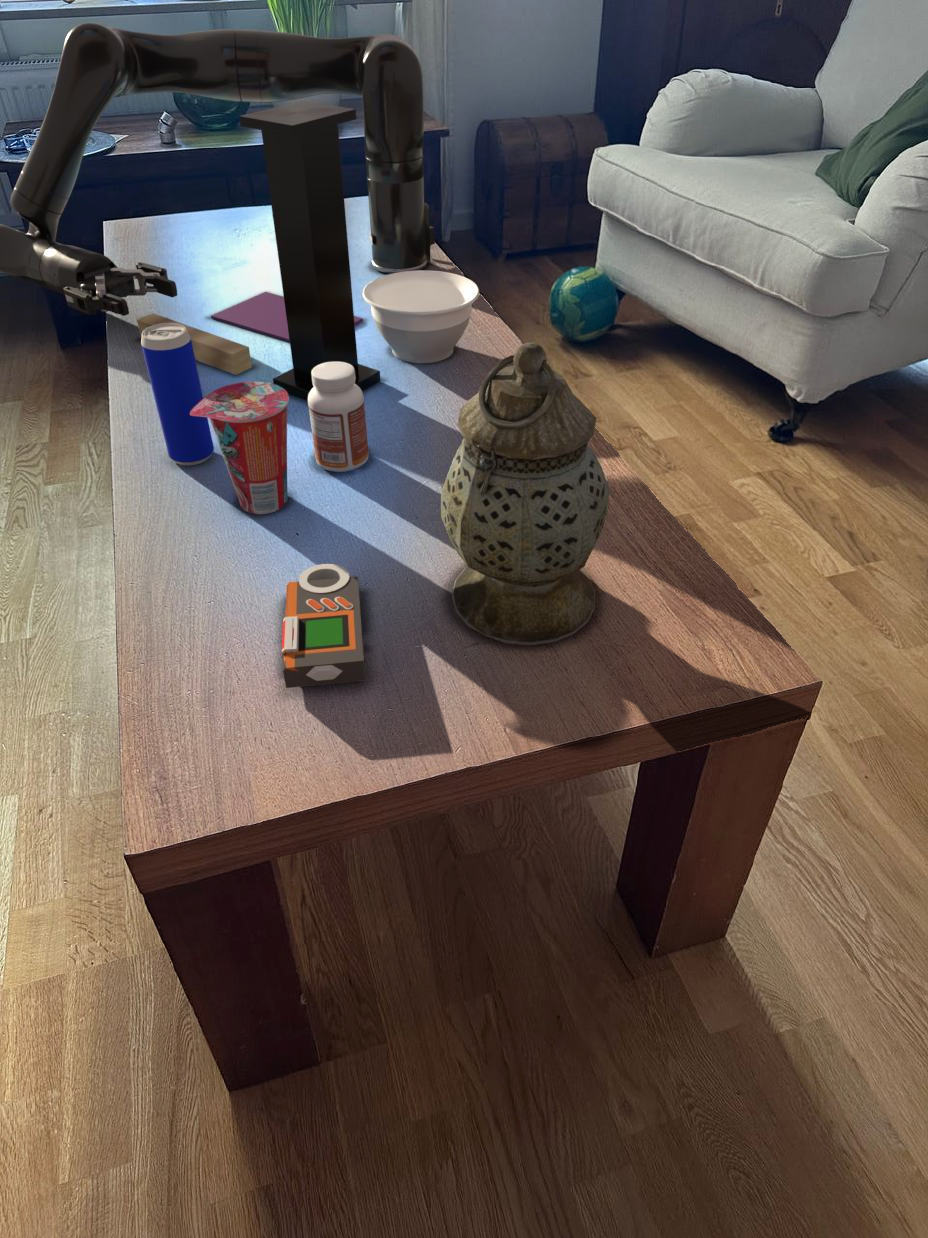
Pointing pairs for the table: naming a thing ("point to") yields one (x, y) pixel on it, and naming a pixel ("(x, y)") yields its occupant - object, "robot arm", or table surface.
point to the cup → (251, 440)
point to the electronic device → (323, 628)
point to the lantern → (524, 504)
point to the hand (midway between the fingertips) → (150, 298)
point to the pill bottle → (337, 417)
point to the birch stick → (208, 346)
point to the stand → (311, 237)
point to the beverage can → (177, 392)
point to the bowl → (421, 312)
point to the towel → (261, 315)
